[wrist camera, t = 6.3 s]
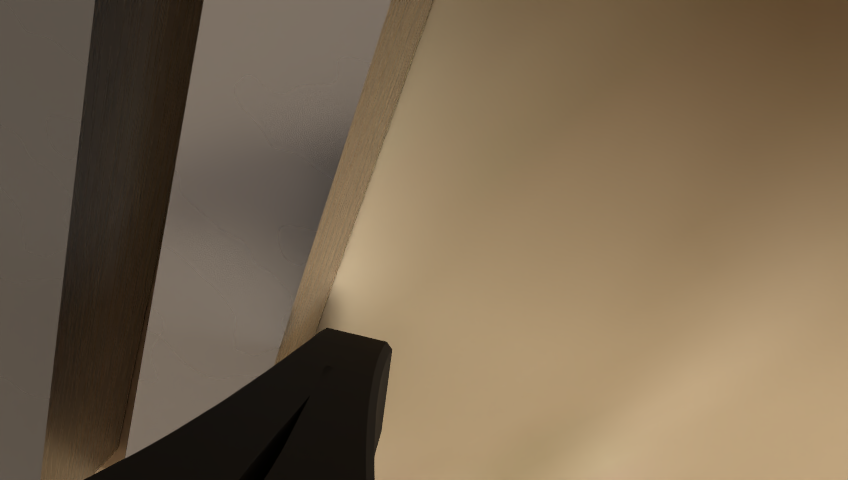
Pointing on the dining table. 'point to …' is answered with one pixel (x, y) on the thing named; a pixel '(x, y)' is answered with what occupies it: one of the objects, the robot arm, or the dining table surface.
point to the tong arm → (265, 190)
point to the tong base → (81, 215)
